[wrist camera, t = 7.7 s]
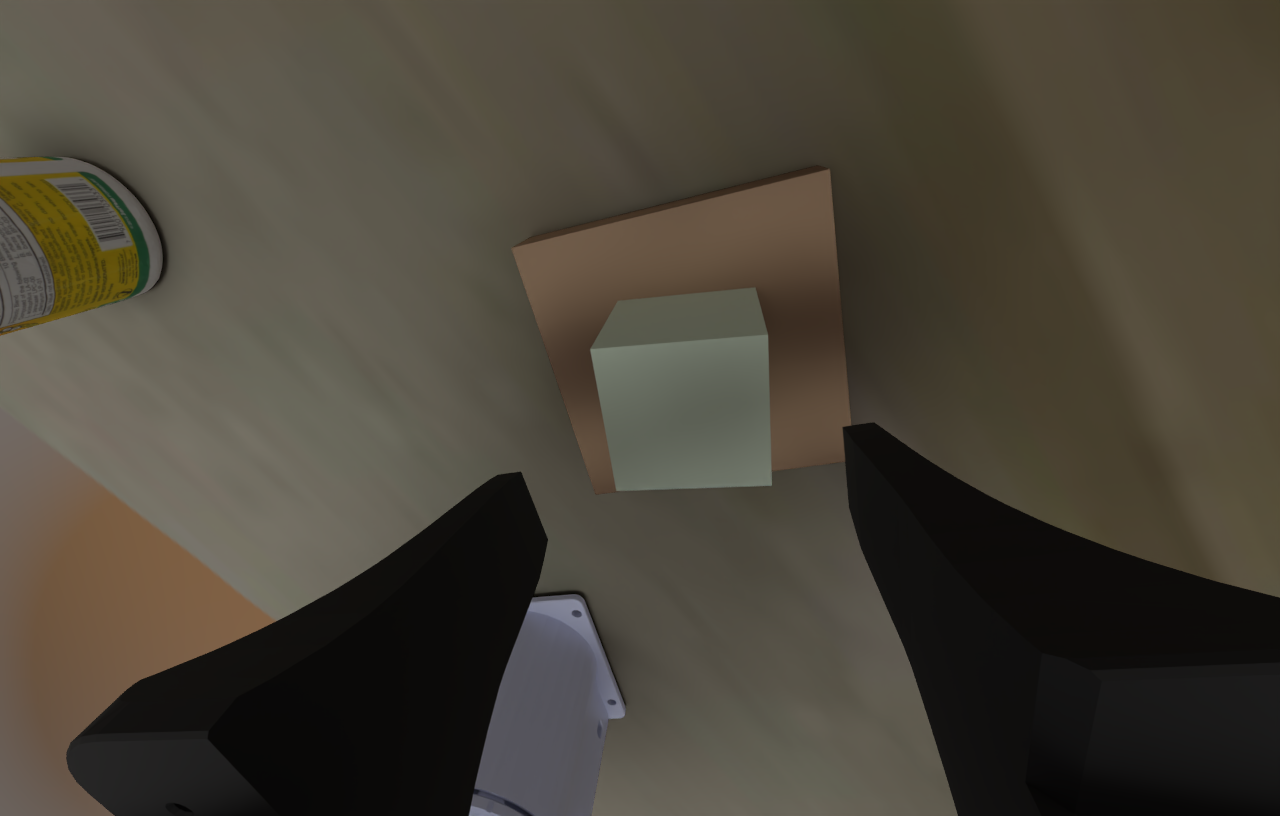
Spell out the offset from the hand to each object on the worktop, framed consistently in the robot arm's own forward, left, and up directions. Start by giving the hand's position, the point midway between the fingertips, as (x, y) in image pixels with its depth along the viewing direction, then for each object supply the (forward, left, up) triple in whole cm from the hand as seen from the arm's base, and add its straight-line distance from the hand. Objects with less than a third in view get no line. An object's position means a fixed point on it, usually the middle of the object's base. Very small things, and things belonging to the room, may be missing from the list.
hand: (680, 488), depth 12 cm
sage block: (0, 0, -8) cm, 8 cm away
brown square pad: (0, 0, -10) cm, 10 cm away
